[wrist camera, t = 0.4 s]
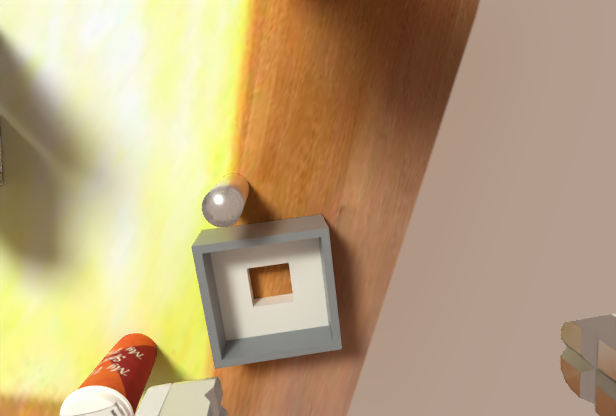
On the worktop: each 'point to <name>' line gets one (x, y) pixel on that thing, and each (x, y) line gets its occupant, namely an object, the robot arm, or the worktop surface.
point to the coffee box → (0, 176)
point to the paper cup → (115, 380)
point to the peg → (226, 200)
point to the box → (270, 310)
